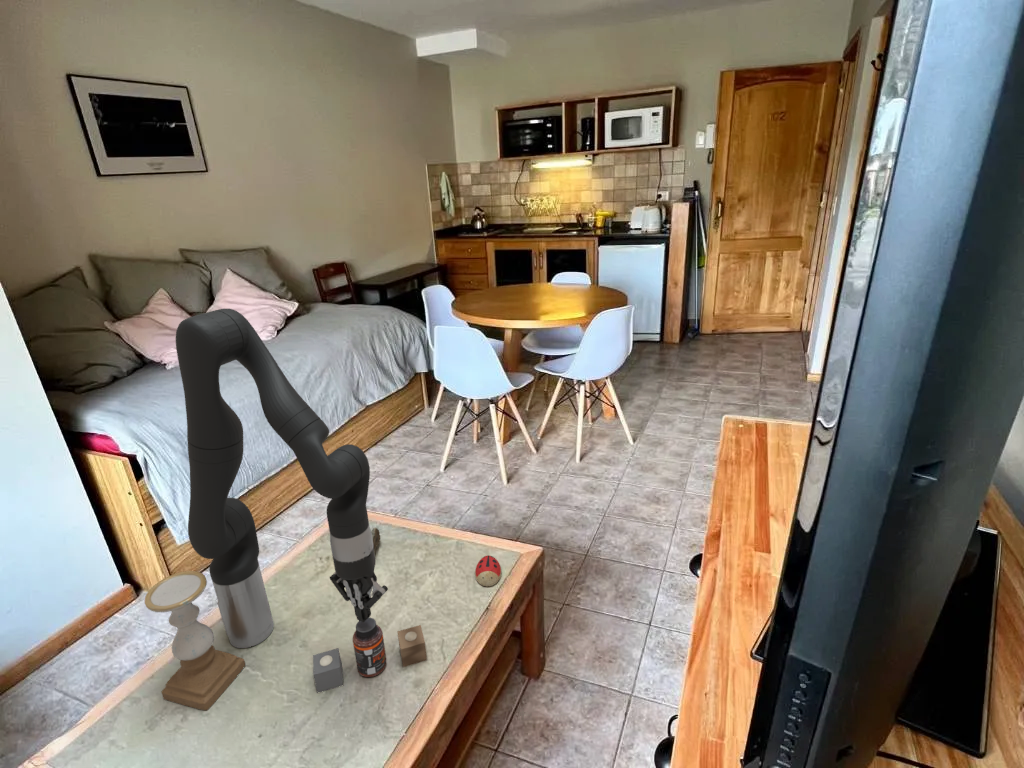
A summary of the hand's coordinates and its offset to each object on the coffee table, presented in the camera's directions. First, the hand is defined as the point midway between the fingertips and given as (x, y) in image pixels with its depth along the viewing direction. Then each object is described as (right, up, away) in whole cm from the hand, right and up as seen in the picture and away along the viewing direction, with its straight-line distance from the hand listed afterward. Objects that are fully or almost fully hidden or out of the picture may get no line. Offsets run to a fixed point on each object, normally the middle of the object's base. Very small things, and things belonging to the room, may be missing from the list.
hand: (363, 618), depth 108 cm
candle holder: (-33, -14, +3) cm, 36 cm away
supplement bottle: (+1, -12, +5) cm, 13 cm away
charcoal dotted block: (-7, -13, +2) cm, 15 cm away
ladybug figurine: (+24, -2, +30) cm, 38 cm away
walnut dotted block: (+9, -11, +7) cm, 16 cm away
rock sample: (-10, 0, +38) cm, 40 cm away
